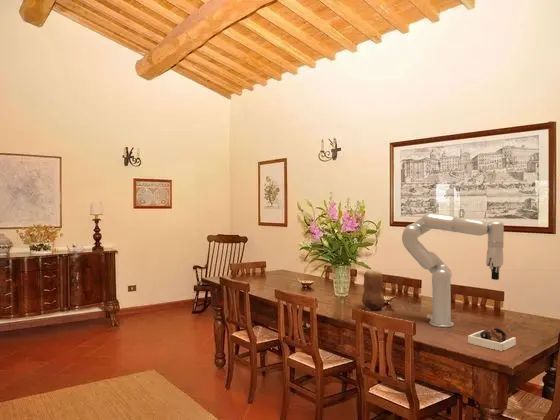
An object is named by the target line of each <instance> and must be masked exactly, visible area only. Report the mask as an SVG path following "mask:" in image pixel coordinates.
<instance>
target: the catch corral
mask: <svg viewBox="0 0 560 420" xmlns="http://www.w3.org/2000/svg"><path fill="white" fill-rule="evenodd" d="M482 331H485V330H483V329H482V330H480V331H476V332H474V333H472V334H469V335H467V343H468V344H470V345H474V346H479V347H483V348H487V349H491V350H494V349H495V350H494V351H498V350H499V351H498V352H503V350H504V351H506V350H508V349H510V348H512V347H514V346H517V340H516V339H517V338H516V337H513V336H512V337H511V338H508V339H506V341H504V342H501V343H499V341H494V340H491V339H490V340H486V339H482V338H481V336H480V333H481V332H482Z"/></svg>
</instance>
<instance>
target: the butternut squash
mask: <svg viewBox="0 0 560 420" xmlns="http://www.w3.org/2000/svg"><path fill="white" fill-rule="evenodd" d="M382 290H383V275H382V272H380V271H379V270H373V269H368V270H366V271H365V272H364V273H363V293H362V297H361V298H362V299H361V303H362V304H363V306H364V307H365V308H367V309H369V310H371V311H378V310H379V309H382V308H383V307H384V305H385V296H384V293H383V291H382ZM377 309H378V310H377Z"/></svg>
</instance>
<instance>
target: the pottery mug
mask: <svg viewBox="0 0 560 420" xmlns="http://www.w3.org/2000/svg"><path fill="white" fill-rule="evenodd" d="M481 331H482V330H481ZM499 334H501V335H499ZM480 336H481V338H482V339H486V340H491V339H492V337H493V338H495V339H497V340H498V342H499V343H501V342H504V341H506V340H507V334H506V332H505V331H503V330H502V329H500V328H498V327H492V328H490V329H488V330H484V331H482V332H481V333H480Z"/></svg>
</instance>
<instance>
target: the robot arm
mask: <svg viewBox="0 0 560 420" xmlns="http://www.w3.org/2000/svg"><path fill="white" fill-rule="evenodd" d="M504 227H505V226H504V223H503V222H502V221H485V220H471V219H464V218H460V217H457V216H454V215H447V214H446V215H445V214H442V213H441V214H439V213H434V212H426V213H425V214H424V215H423V216H422V217H420V218H419V219H417V220H416V221H415V222H413V223H411V224H408V225H406V227H404V229H403V231H402V234H401V242H402V245H403V247H404V248H405V250H406V251H407V252H408V253H409V254H410V256H412V258H413V259H414V260H415V261H416V262H417V263H418V264H419V266H420V267H422V268H423V269H424V270H426V271H427V270H428V271H429V273H431V274H432V275H431V287H432V291H431V292H432V294H431V296H432V314H430V313H428V314H426V318H427V319H430V321H429V325H431V326H434V327H438V328H439V327H440V328H450V327H451V328H452V327H454V322H453V321H451V311H452V308H451V307H452V306H451V305H452V304H451V303H452V302H451V301H452V299H451V295H452V293H451V280H452V270H451V269H450V268H449V267H448V265H447V264H446V263H445V262H444V260H442V259H441V258H440V257H439V256H438V255H437V254H436V253H435V252H434V251H429V250H428V249H427V248H426V247H425V246H424V244H423V243H421V242H420V240H419V237H421V236H422V235H424V234H425V233H426V234H427V232H429V231H430V230H432V229H434V230H440V231H447V232H453V233H459V234H465V235H472V236H476V237H477V236H478V237H480V236H484V235H487V250H486V258H485V259H486V262H485V265H486V266H487V267H489V270H490V272H491V280H494V281H499V280H500V269H501V268H502V266H503V264H504V250H503V249H504V242H505V241H504V239H505V238H504V237H505V236H504Z"/></svg>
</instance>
